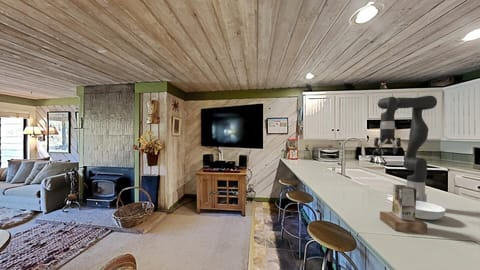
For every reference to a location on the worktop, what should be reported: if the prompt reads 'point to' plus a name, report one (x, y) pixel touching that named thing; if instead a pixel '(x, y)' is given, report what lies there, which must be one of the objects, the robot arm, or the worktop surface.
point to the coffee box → (404, 202)
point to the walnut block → (403, 223)
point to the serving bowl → (428, 211)
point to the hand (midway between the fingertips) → (387, 153)
